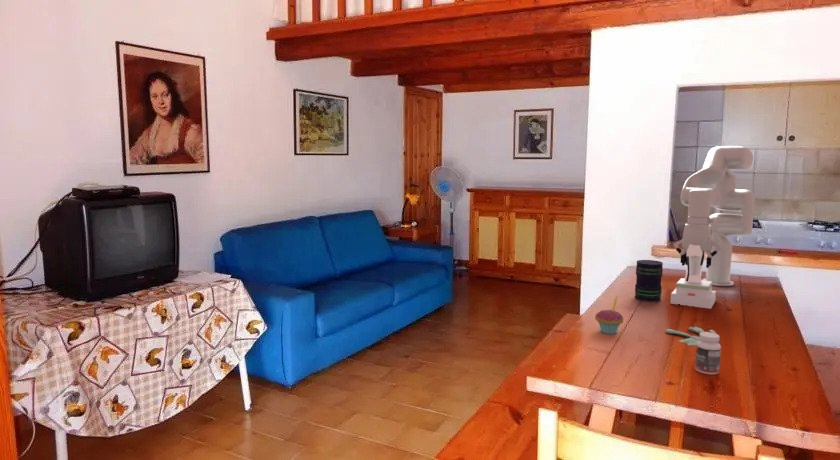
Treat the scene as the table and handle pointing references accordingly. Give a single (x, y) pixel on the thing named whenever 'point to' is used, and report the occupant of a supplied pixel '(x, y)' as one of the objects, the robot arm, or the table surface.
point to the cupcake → (609, 320)
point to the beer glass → (694, 263)
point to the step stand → (694, 294)
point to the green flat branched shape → (691, 339)
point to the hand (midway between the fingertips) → (695, 266)
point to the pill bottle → (708, 353)
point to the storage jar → (648, 280)
